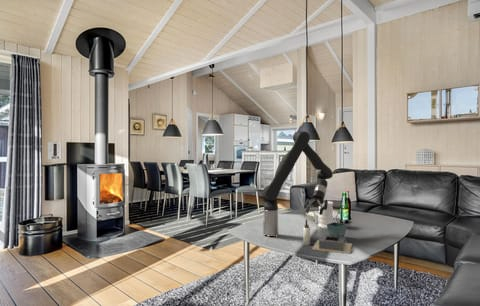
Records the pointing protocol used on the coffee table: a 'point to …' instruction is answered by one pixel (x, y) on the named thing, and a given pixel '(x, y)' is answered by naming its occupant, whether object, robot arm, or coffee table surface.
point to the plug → (306, 234)
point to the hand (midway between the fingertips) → (313, 213)
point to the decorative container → (326, 216)
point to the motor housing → (332, 244)
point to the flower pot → (336, 229)
